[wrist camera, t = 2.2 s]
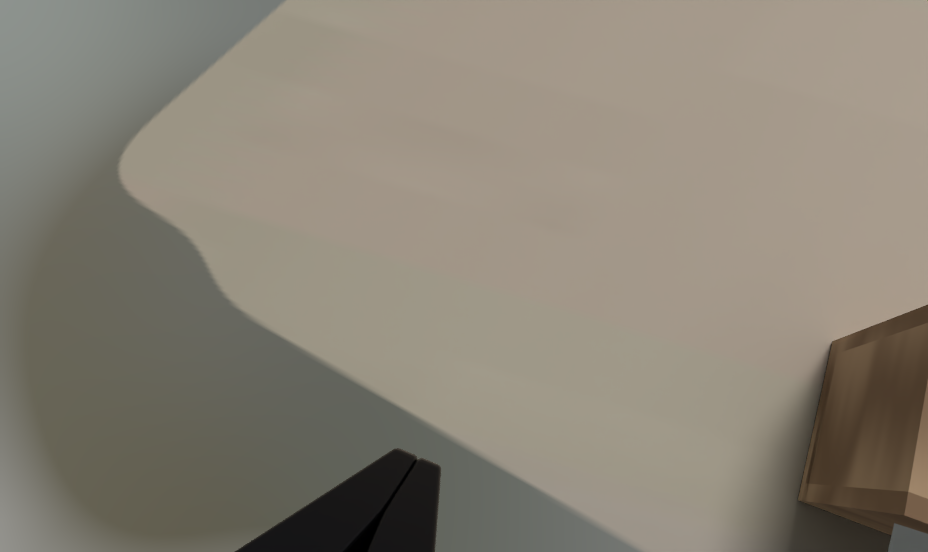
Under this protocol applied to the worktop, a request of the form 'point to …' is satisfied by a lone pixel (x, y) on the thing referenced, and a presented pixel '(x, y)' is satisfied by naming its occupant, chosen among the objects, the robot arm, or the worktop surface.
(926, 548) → the box lid
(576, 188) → the worktop surface
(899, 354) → the walnut box
